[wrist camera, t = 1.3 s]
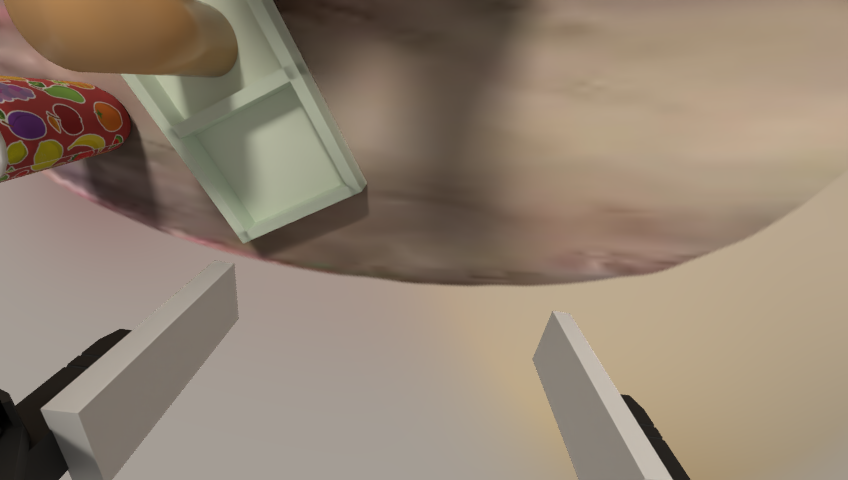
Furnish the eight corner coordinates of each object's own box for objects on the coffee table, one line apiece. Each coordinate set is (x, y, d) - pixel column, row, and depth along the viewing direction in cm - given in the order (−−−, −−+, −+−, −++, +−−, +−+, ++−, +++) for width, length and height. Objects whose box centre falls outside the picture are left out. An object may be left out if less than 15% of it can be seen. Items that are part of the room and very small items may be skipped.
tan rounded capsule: (154, 20, 32) (-25, -24, 19) (209, -13, 31) (57, -83, 18) (198, 88, 34) (65, 89, 22) (251, 60, 33) (142, 43, 20)
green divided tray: (99, 5, 32) (64, -4, 29) (232, -79, 30) (209, -99, 26) (257, 231, 42) (243, 243, 39) (367, 182, 39) (362, 191, 36)
